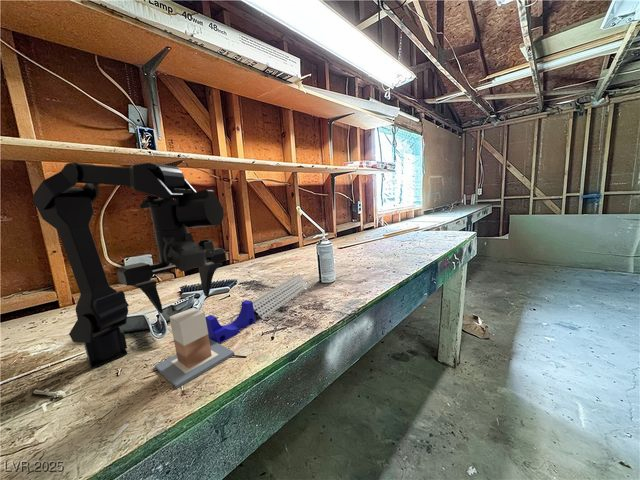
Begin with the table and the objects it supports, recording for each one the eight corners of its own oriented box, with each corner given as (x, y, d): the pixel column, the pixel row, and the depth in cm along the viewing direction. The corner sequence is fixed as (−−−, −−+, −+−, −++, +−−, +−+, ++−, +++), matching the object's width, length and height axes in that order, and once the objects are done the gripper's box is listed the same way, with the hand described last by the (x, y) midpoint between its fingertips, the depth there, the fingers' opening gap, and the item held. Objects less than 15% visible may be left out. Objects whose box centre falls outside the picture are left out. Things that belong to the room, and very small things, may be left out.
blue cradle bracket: (217, 344, 60) (214, 321, 59) (208, 339, 63) (204, 317, 62) (258, 323, 69) (255, 303, 68) (248, 319, 72) (246, 300, 71)
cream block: (184, 345, 50) (179, 322, 49) (173, 339, 53) (169, 316, 52) (208, 334, 54) (204, 312, 53) (197, 328, 57) (193, 307, 56)
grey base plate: (176, 388, 46) (176, 385, 46) (155, 367, 53) (154, 364, 53) (234, 354, 55) (234, 351, 55) (209, 340, 62) (209, 337, 62)
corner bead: (291, 285, 101) (289, 273, 100) (310, 286, 97) (309, 274, 96) (240, 318, 75) (237, 302, 74) (264, 321, 71) (262, 305, 70)
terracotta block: (188, 368, 51) (183, 345, 50) (177, 360, 54) (173, 338, 53) (211, 355, 54) (208, 334, 54) (200, 348, 57) (197, 328, 57)
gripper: (126, 238, 38) (146, 334, 40) (235, 222, 52) (246, 294, 54) (108, 237, 45) (126, 319, 47) (209, 223, 59) (219, 287, 61)
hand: (185, 303), depth 52 cm, fingers open, 9 cm apart
